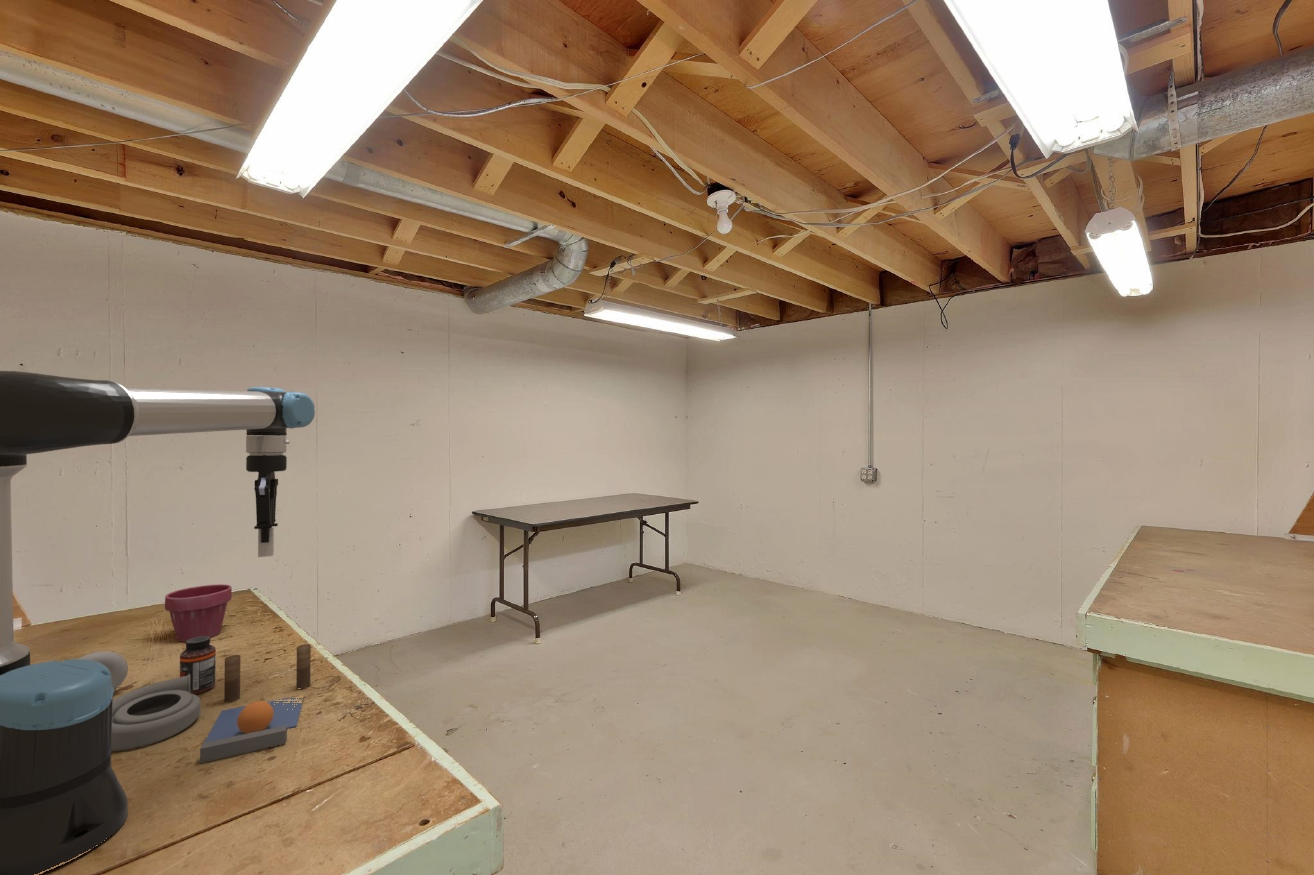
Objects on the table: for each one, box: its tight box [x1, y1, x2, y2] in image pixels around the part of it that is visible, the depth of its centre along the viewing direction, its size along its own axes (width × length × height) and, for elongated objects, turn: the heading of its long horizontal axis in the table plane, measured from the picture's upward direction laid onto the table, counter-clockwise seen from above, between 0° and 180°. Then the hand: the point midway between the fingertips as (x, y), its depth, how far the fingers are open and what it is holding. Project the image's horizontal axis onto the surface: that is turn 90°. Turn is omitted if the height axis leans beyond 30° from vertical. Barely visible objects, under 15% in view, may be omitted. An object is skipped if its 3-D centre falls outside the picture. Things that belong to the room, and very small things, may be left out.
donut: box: [78, 650, 129, 691], centre depth 111 cm, size 10×4×10 cm, turn 138°
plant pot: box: [164, 583, 233, 643], centre depth 147 cm, size 14×14×13 cm
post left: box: [223, 654, 241, 703], centre depth 111 cm, size 3×3×9 cm
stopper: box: [199, 725, 288, 764], centre depth 93 cm, size 2×12×2 cm, turn 119°
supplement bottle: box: [179, 636, 217, 696], centre depth 115 cm, size 6×6×11 cm
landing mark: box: [203, 697, 305, 743], centre depth 103 cm, size 14×14×1 cm
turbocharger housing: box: [111, 674, 202, 752], centre depth 100 cm, size 17×6×15 cm
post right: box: [295, 643, 312, 689], centre depth 117 cm, size 3×3×9 cm
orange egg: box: [237, 700, 274, 734], centre depth 99 cm, size 6×6×6 cm
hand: (265, 555), depth 121 cm, fingers closed
